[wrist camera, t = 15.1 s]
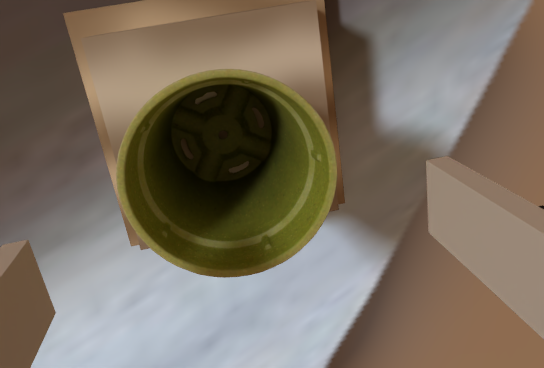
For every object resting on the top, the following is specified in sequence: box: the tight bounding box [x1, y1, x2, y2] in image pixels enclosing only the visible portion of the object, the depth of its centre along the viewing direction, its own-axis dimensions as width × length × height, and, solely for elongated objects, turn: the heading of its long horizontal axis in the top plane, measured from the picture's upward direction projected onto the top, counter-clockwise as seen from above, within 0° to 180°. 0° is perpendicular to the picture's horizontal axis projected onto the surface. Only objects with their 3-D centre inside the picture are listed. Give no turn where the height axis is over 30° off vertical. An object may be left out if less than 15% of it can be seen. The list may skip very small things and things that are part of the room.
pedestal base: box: [63, 0, 345, 250], centre depth 31 cm, size 16×16×6 cm
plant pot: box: [116, 69, 337, 277], centre depth 24 cm, size 9×9×9 cm
